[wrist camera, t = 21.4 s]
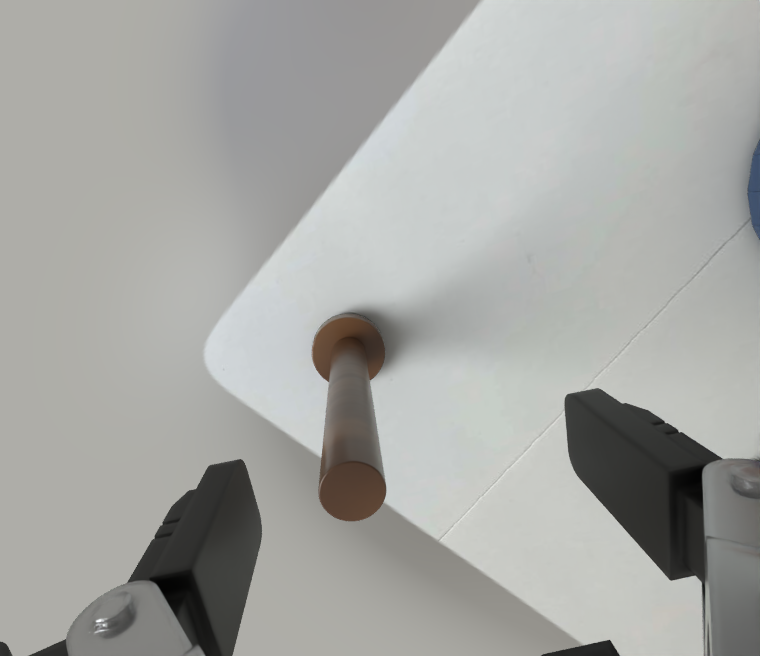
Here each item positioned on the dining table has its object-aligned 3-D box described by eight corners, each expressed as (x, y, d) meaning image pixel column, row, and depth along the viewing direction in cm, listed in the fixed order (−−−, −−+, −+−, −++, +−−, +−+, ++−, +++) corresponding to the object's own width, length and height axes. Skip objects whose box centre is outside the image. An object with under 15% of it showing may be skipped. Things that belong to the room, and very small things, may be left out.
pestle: (299, 357, 28) (248, 514, 13) (338, 299, 28) (330, 395, 13) (358, 393, 29) (372, 579, 14) (397, 337, 29) (455, 470, 13)
